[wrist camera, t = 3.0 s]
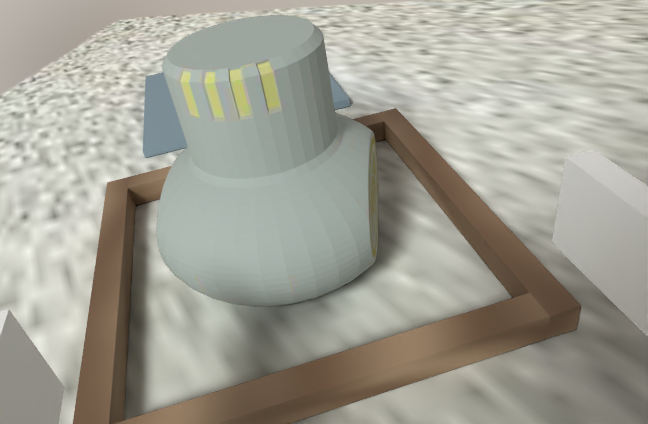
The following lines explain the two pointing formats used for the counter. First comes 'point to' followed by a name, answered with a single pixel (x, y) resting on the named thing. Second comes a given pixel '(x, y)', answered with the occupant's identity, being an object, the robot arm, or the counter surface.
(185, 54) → the air freshener
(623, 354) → the counter surface
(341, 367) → the wooden frame
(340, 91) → the rubber mat
